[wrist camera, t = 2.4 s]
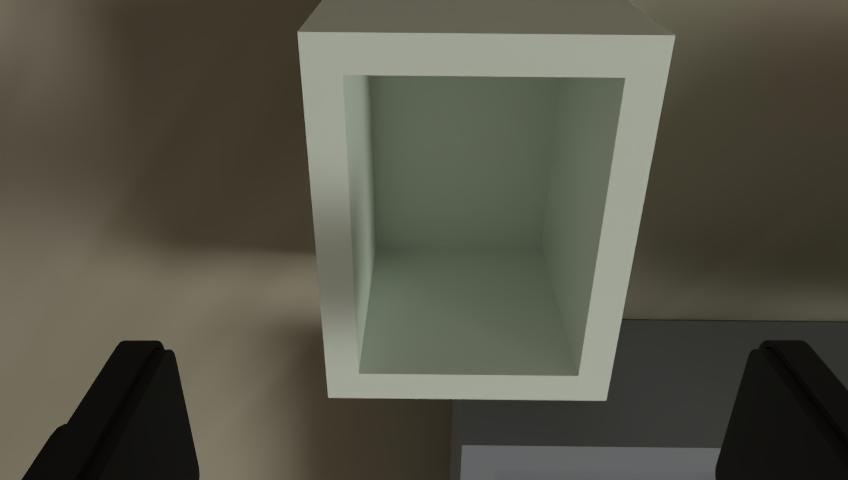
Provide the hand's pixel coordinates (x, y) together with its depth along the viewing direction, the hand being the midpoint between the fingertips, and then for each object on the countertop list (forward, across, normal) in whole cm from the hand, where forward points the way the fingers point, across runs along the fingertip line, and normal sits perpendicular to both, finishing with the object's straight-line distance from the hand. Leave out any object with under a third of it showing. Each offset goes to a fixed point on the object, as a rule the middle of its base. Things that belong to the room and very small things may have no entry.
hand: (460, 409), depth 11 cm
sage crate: (+11, -1, -1) cm, 11 cm away
